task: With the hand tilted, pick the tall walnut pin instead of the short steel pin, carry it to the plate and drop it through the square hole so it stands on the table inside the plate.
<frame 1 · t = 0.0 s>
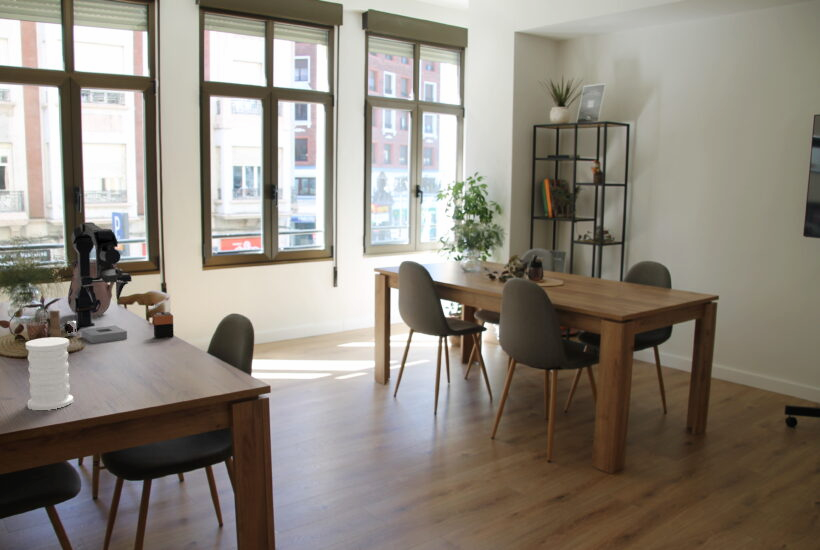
hand: (105, 301, 276), 15 cm above the table, tool pointing down, fingers open, 9 cm apart
battery: (163, 337, 281), on the table
decorative container: (50, 404, 200), on the table
ceramic pitcher: (94, 315, 320), on the table
steel pin: (72, 336, 279), on the table
walnut pin: (56, 345, 265), on the table
hole plate: (104, 337, 278), on the table
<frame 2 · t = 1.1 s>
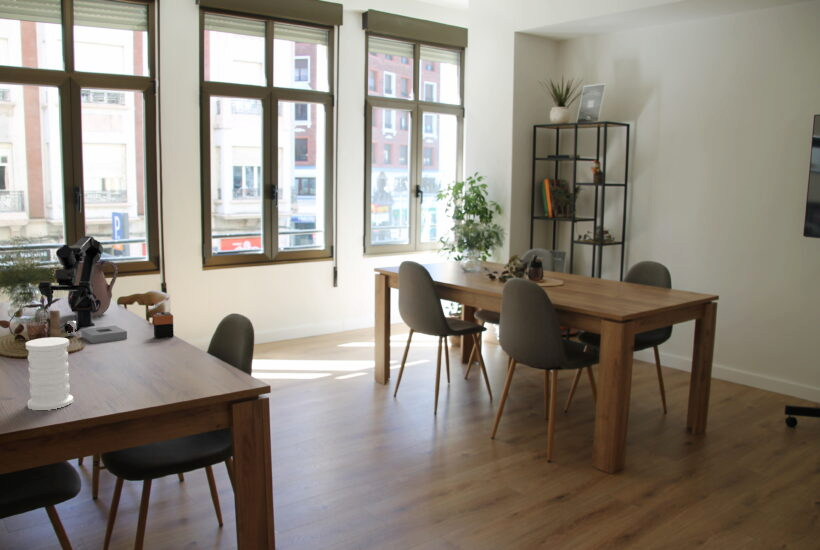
hand: (61, 306, 270), 13 cm above the table, tool tilted 45°, fingers open, 9 cm apart
nothing on the table moved.
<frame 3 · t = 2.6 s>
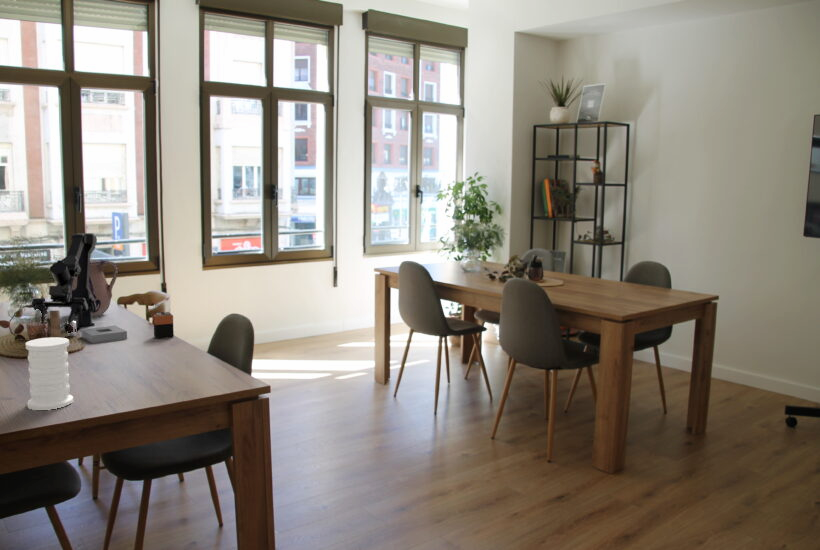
hand: (55, 323, 264), 8 cm above the table, tool tilted 45°, fingers open, 9 cm apart
nothing on the table moved.
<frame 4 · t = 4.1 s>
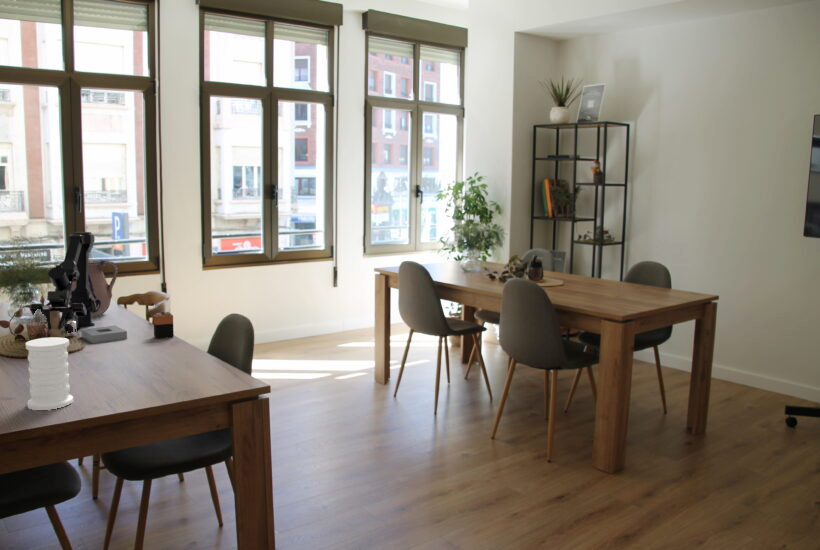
hand: (54, 329, 262), 7 cm above the table, tool tilted 45°, fingers closed on walnut pin, 3 cm apart
walnut pin: (56, 345, 265), on the table, touching gripper
everything else where it was.
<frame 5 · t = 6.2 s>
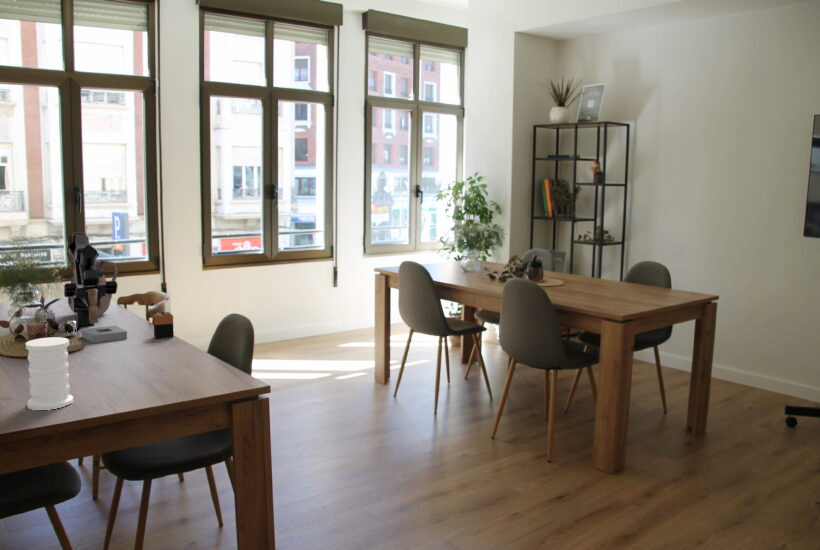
hand: (93, 306, 271), 13 cm above the table, tool tilted 45°, fingers closed on walnut pin, 3 cm apart
walnut pin: (93, 322, 273), point 7 cm above the table, touching gripper
everything else where it was.
when the fingers open (8 cm above the table, at t = 8.6 s): walnut pin drops 1 cm, resting in hole plate.
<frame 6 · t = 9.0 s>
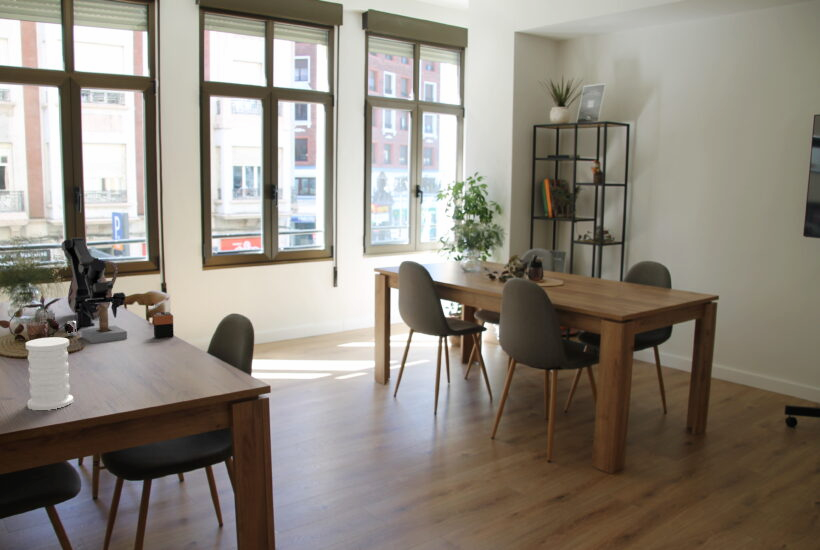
hand: (104, 318, 276), 8 cm above the table, tool tilted 45°, fingers open, 8 cm apart
walnut pin: (104, 337, 278), resting in hole plate
everything else where it was.
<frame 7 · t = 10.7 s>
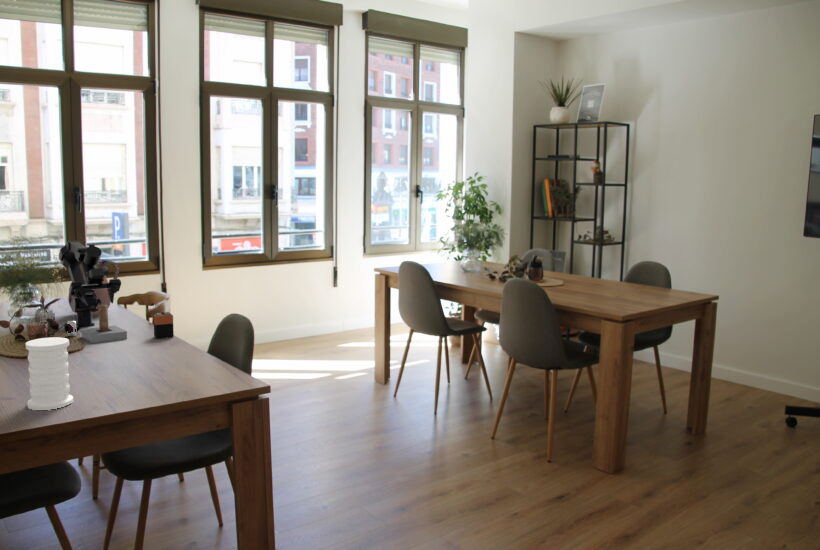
hand: (100, 304, 279), 13 cm above the table, tool tilted 45°, fingers open, 9 cm apart
nothing on the table moved.
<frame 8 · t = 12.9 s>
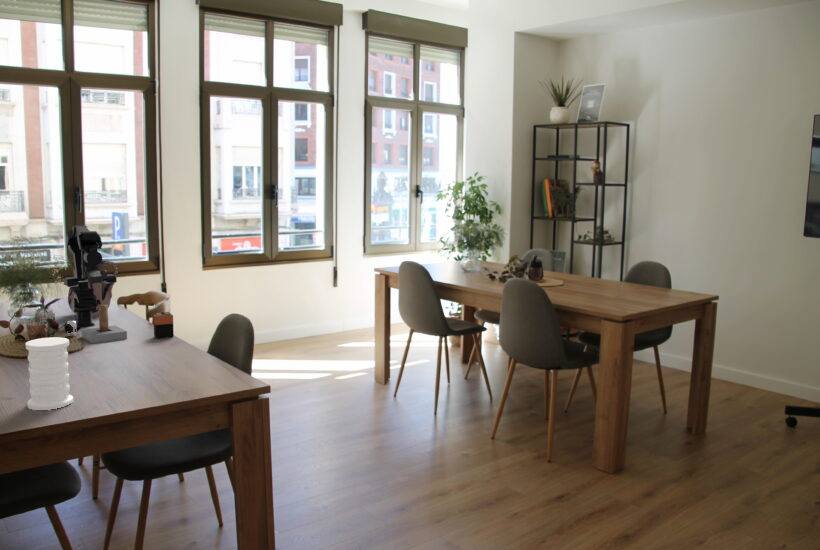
hand: (91, 301, 284), 13 cm above the table, tool pointing down, fingers open, 9 cm apart
nothing on the table moved.
at the end: walnut pin 0.0 cm off-centre on the hole plate, point 0.0 cm above the hole plate's base; walnut pin tilted 0°; steel pin moved 0.0 cm from its start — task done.
